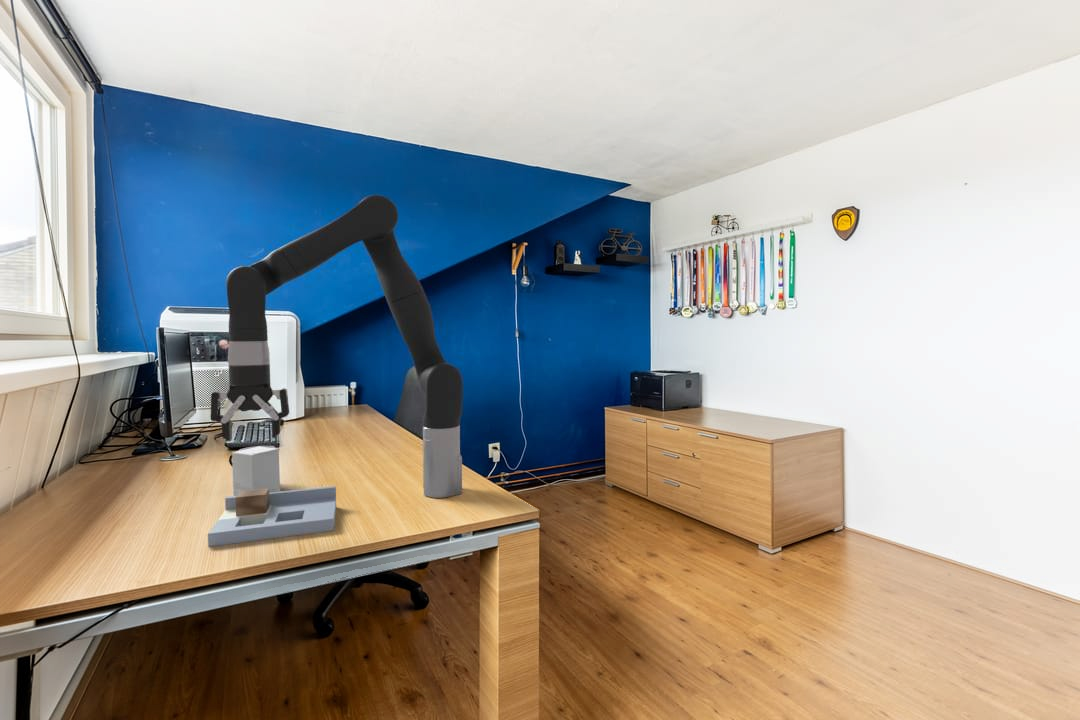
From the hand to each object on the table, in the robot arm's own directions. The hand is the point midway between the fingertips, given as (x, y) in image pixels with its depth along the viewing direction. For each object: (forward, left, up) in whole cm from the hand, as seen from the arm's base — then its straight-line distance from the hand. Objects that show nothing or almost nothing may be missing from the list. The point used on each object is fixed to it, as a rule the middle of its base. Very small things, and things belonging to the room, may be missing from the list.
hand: (252, 438), depth 105 cm
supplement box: (+2, -15, -18) cm, 24 cm away
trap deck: (-5, +3, -18) cm, 19 cm away
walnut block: (0, 0, -16) cm, 16 cm away
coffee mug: (+5, -30, -18) cm, 36 cm away
